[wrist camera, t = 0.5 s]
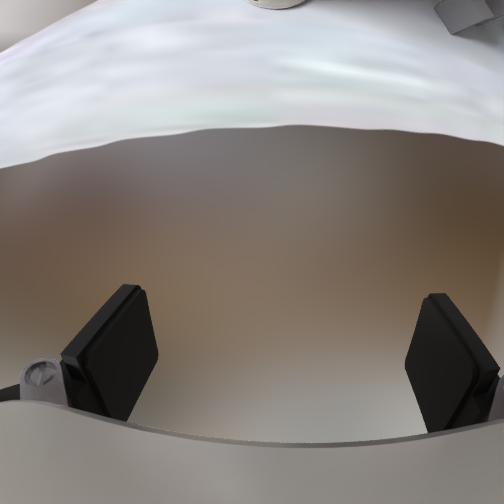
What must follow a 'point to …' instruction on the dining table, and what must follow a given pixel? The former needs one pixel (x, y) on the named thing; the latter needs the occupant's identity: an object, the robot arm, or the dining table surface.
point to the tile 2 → (494, 9)
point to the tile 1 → (462, 13)
